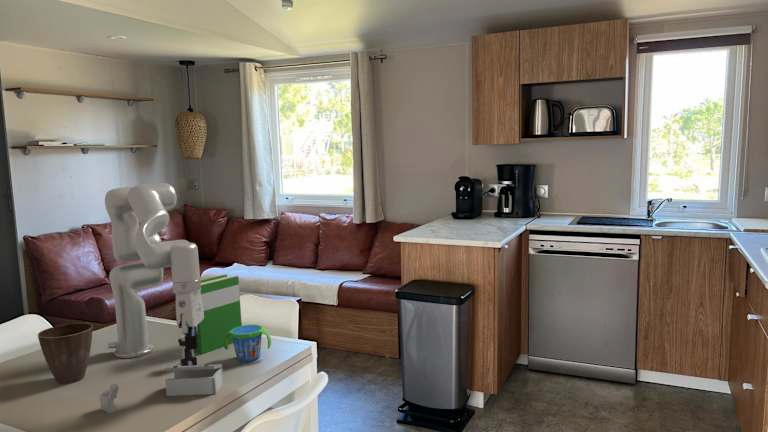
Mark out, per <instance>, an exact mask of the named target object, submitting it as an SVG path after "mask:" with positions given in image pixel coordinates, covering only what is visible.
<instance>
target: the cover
mask: <svg viewBox="0 0 768 432" xmlns="http://www.w3.org/2000/svg"><path fill="white" fill-rule="evenodd" d="M220 367H222V368H223V364H209V363H208V364H207V363H205V364H197V365H193V366H181V365H178V364H177V365H176V364H175V365H173V366H170V367H165V368H164V371H165V372H171V371H172V372H174V371H178V370H202V369H216V368H220Z"/></svg>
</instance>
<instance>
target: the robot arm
mask: <svg viewBox="0 0 768 432" xmlns="http://www.w3.org/2000/svg"><path fill="white" fill-rule="evenodd" d="M177 199H178V198H177V193H176V190H175V188H174V187H173V186H172V185H171V184H170V183H167V182H160V183H159V182H158V183H143V184H142V183H141V184H137V185H134V186H127V187H126V186H125V187H117V188H111V189H110V190H108V191H107V192H106V193H105V197H104V206H105V209H106V210H105V211H106V212H107V214H108V217H109V220H110V223H111V238H112V239H111V240H112V253H113V256H114V258H115V260H116V261H118V262H131V261H138V260H139V262H131V263H124V264H119V265H116V266H115V267H113V268H112V269H111V270H110V272H109V276H108V277H109V283H110V286H111V289H112V290H111V291H112V293H113V294H112V295H113V300H114V308H115V319H116V329H117V331H116V332H117V341H115V340H112V341H111V340H110V341H108V343H107V347H108V349H115V351H114V356H115V357H117V358H119V359H130V358H131V359H132V358H137V357H141V356H145V355H147V354H150V353H151V352H152V351H154V344H152V343H149V335H148V326H147V325H148V324H147V312H146V311H147V310H146V303H145V300H144V298H143V297H142V296H141V295H140V294H139V293H137V291H139V290H143V289H148V288H154V287H157V286H160V285H161V284H162V282H163V280H164V268H170V269H171V270H170V271H171V279H172V280H171V281H172V291H173V294H175V318H176V325H177V326H176V327H177V328H179V329H181V334H183V335H184V336H185V347H186V349H197V347H198V334H197V332H198V329H197V325H198V324H199V323H200V322H201V321H202V320H203V319H204V311H203V303H202V297H201V292H200V290H201V283H200V280H201V272H200V270H201V269H200V261H199V259H200V258H199V249H198V246H197V244H196V243H194V242H190V241H188V240H186V239H176V240H175V239H174V240H166V241H162V238H161V236H160V235H159V233H160V232H161V231H163V230H164V229H165V228H166V227H167V226H168V224H169V223H170V214H169V213H168V212H167V210H170V209H172V208H174V207H175V206H176V204H177ZM139 224H140V225H139ZM140 260H141V261H140ZM185 347H184V348H185Z"/></svg>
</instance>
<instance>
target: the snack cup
mask: <svg viewBox="0 0 768 432" xmlns="http://www.w3.org/2000/svg"><path fill="white" fill-rule="evenodd" d="M229 334H230V335H231V337H232V339H233V344H232V345H233V347H234V352H235V355H236V356H235V357H236V359H237V361H239V362H243V363H248V362H253V361H255V360H258V359H260V357H261V349H262V336H263V335H265V336H266V339H267V349H268V350H269V349H270V348H271V345H272V339H271V336H270V333H269V332H268V331H267V330H266V329H264V328H263V327H262V325H259V324H245V325H244V324H242V326H239V327H236V328H233V329H232V330H231V331H230V332H228V333H227V334H226V336H225V338H224V347H223V348H224V349H225V350H228V349H229V345H228V344H227V337H228V335H229ZM262 334H263V335H262Z"/></svg>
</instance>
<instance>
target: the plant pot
mask: <svg viewBox="0 0 768 432" xmlns="http://www.w3.org/2000/svg"><path fill="white" fill-rule="evenodd" d="M93 327H94V326H93V324H91V323H88V322H77V323H76V322H73V323H67V324H59V325H56V326H52V327H48V328H46V329H43V330H41V331H39V332H38V333H37V337H38V342H39V346H40V348H41V351H42V355H43V356H44V359H45V362H46V364H47V367H48V369H49V371H50V373H51V374H52V376H53V378H54V379H55V381H56V383H58V384H61V385H66V384H73V383H76V382H78V381H81V380H83V379H84V378H85V375H86V371H87V368H88V364H89V360H90V356H91V355H90V354H91V350H92V349H91V348H92V340H93V329H94V328H93Z"/></svg>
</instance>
